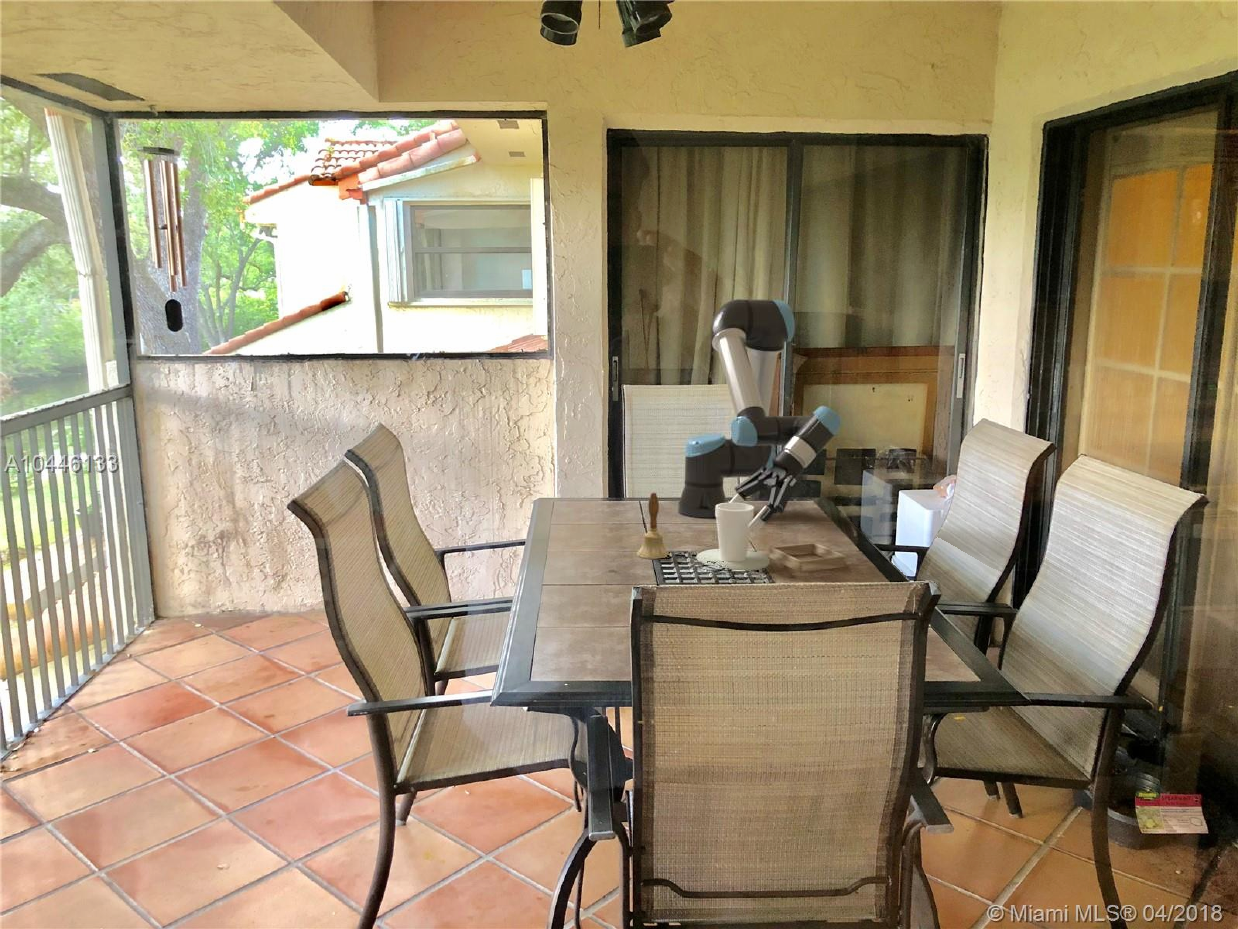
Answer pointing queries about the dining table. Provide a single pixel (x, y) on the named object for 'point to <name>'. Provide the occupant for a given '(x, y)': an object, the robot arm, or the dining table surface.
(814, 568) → the cup socket
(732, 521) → the foam cup
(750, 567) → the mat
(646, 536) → the hand bell
